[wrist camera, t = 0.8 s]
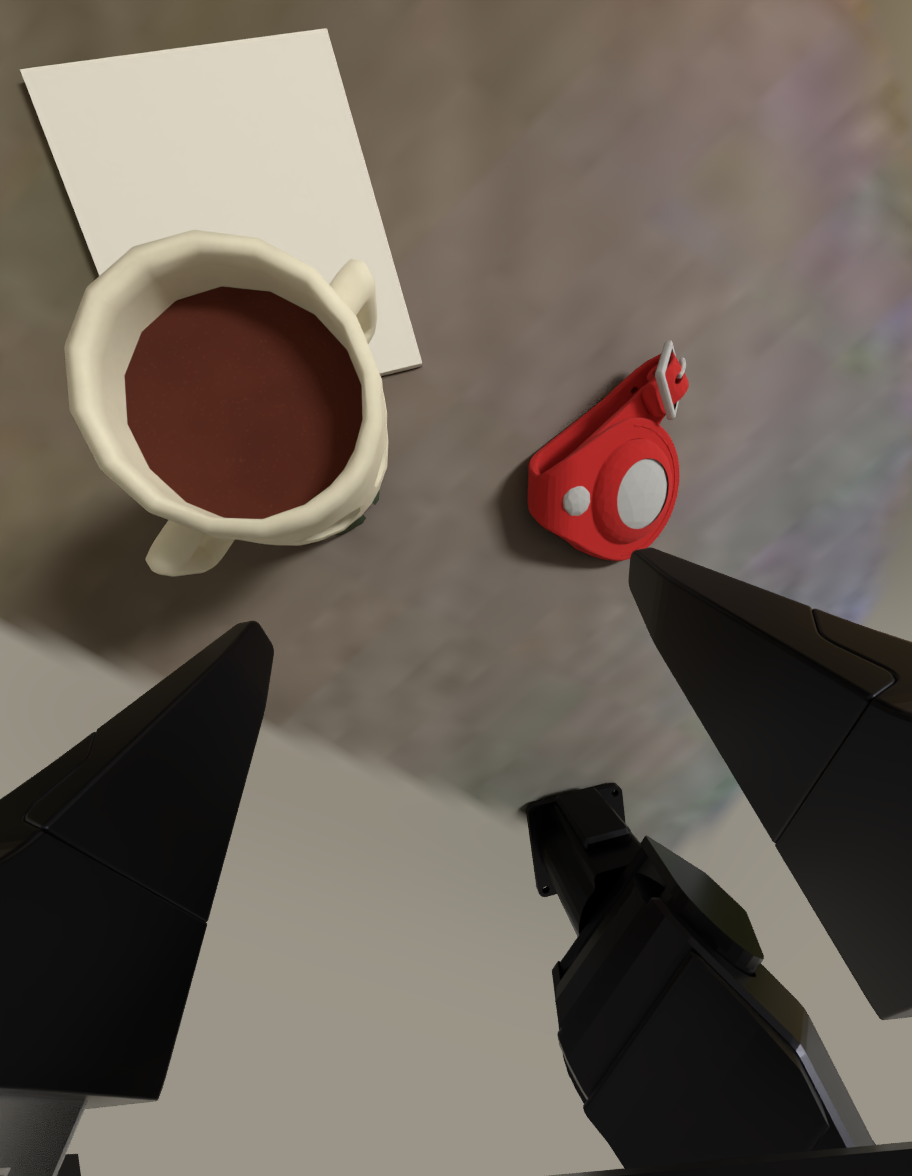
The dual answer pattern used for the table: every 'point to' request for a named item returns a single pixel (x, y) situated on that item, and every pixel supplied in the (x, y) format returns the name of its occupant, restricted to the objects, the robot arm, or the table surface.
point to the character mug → (230, 393)
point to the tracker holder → (614, 466)
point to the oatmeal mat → (223, 158)
